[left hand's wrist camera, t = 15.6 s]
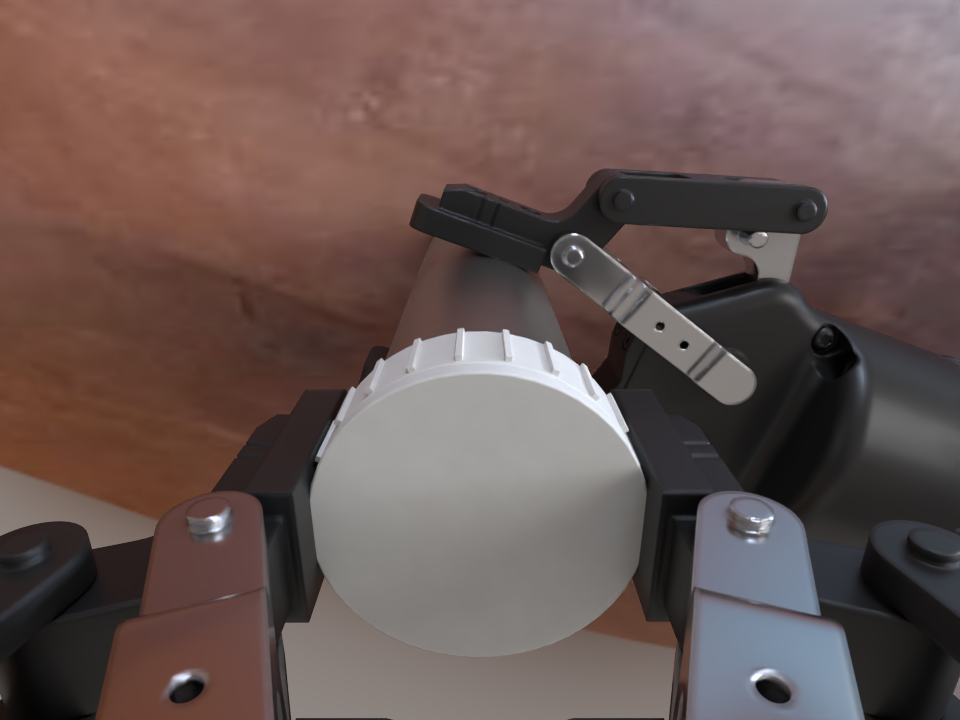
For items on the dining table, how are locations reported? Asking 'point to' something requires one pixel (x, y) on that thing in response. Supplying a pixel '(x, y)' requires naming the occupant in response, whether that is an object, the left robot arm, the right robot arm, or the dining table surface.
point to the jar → (475, 299)
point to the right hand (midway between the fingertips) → (391, 292)
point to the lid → (478, 496)
